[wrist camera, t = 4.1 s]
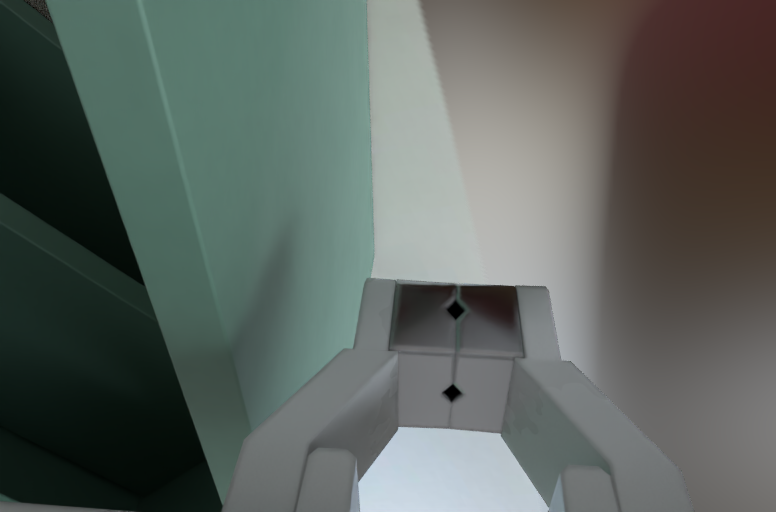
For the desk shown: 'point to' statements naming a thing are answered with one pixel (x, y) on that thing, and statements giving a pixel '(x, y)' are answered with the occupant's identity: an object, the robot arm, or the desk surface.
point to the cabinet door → (235, 186)
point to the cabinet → (77, 311)
